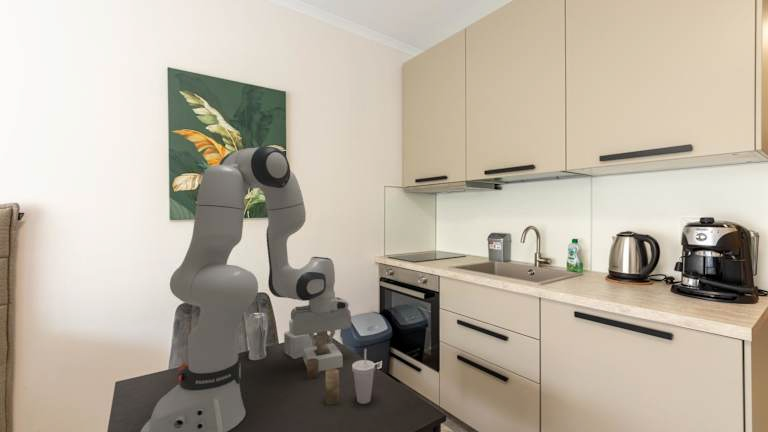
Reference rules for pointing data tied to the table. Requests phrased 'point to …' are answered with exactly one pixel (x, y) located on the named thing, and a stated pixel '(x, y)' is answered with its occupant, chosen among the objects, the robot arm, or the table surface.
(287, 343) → the container
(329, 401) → the oak pin
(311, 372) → the walnut pin
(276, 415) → the table surface
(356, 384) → the smoothie
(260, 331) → the beer glass
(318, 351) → the maple pin
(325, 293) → the robot arm
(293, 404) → the table surface
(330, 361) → the socket block
